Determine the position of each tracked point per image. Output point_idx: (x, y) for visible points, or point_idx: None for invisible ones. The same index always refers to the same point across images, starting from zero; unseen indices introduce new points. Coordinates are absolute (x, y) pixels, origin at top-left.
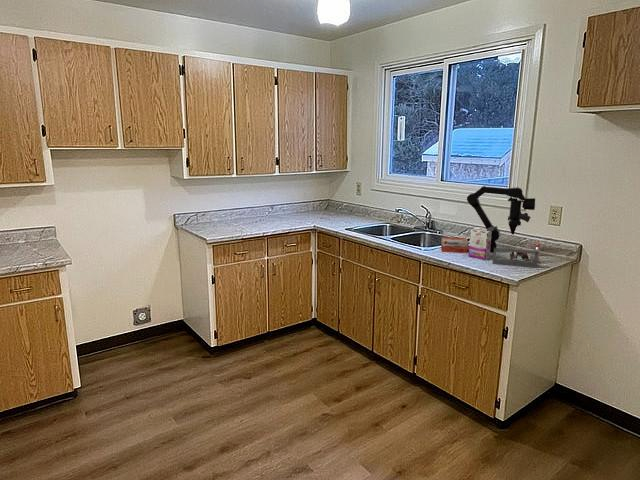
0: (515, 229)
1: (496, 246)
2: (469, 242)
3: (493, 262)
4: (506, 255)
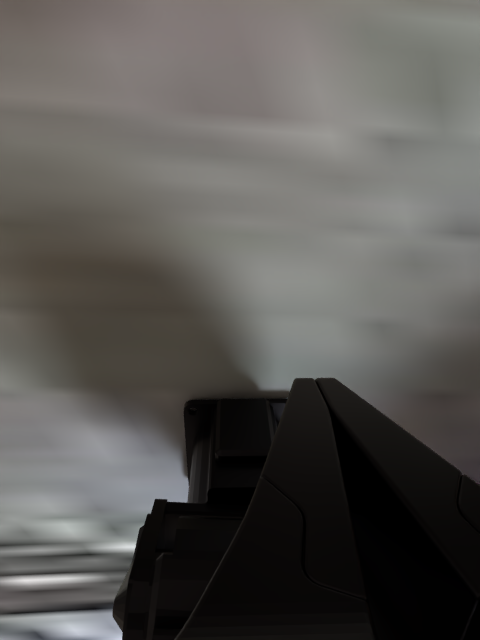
0: (472, 480)
1: (270, 437)
2: None
3: None
4: (373, 292)
